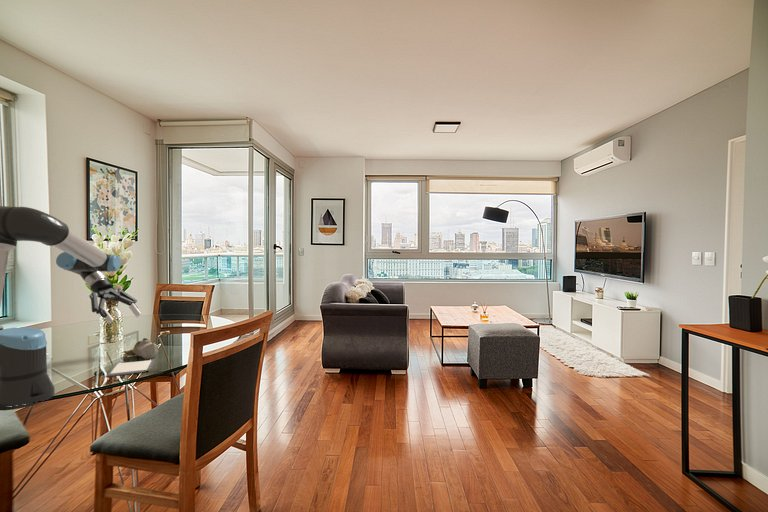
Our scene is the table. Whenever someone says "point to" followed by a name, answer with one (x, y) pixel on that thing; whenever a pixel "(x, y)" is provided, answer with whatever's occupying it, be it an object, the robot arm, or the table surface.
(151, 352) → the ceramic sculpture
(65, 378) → the table surface
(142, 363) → the linen sheet mat
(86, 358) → the table surface
